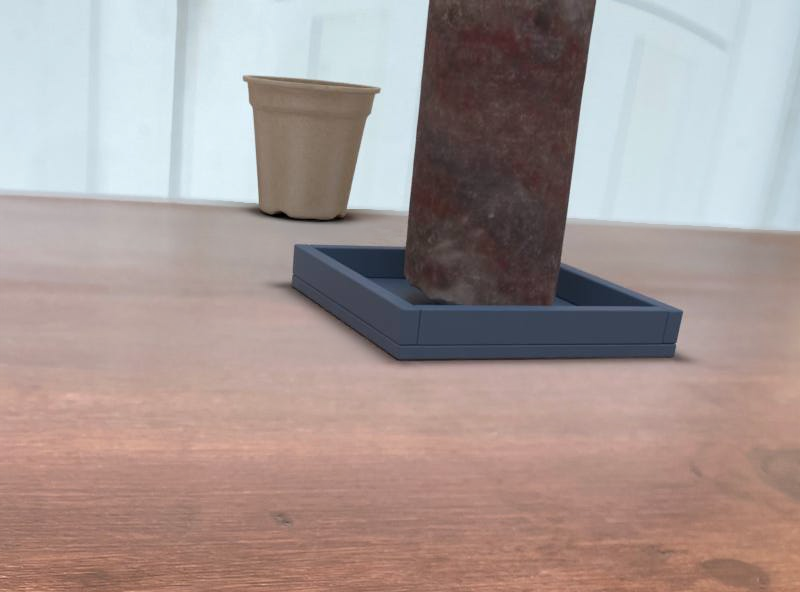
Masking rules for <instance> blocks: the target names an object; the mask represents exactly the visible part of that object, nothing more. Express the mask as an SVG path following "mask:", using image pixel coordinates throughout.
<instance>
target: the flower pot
mask: <svg viewBox="0 0 800 592" xmlns="http://www.w3.org/2000/svg"><path fill="white" fill-rule="evenodd" d="M242 82H245V83H246V84H247V89H248V90H247V92H248V103H249V105H250V106H251V108H252V118H253V119H252V120H253V133H254V146H255V147H254V148H255V164H256V177H257V193H258V208H259V210H261V211H262V212H264V213H265V214H268V215H278V214H283V213H284V214H285V215H286V216H288V217H289V218H293V219H299V220H307V219H309V220H310V219H313V220H318V221H328V220H333V219H334V218H344V217H345V216H346V215H347V210H348V204H349V200H350V195H351V191H352V187H353V181H354V178H355V177H354V176H355V173H356V168H357V163H358V160H359V159H358V158H359V155H360V154H359V153H360V149H361V144H362V140H363V137H364V131H365V127H366V122H367V120H368V117H369V116H370V115H371V114H372V110H373V106H374V101H375V98H376V95H378V94H380V93H381V89H382V88H381V87H379V86H374V85H367V84H360V83H359V84H358V83H357V84H356V83H349V82H344V81H343V82H340V81H332V80H324V79H323V80H322V79H313V78H304V77H303V78H302V77H288V76H274V75H273V76H272V75H256V74H255V75H253V74H246V75H242Z"/></svg>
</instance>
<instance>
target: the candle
mask: <svg viewBox="0 0 800 592" xmlns="http://www.w3.org/2000/svg"><path fill="white" fill-rule="evenodd" d="M596 5H597V0H428V9H427V18H426V27H425V28H426V30H425V38H424V47H423V49H424V50H423V61H422V69H421V70H422V71H421V80H420V94H419V103H418V104H419V105H418V112H417V113H418V115H417V122H416V130H415V144H414V145H415V146H414V153H413V163H412V173H411V185H410V192H409V193H410V194H409V195H410V196H409V205H408V215H407V216H408V218H407V227H406V240H405V241H406V242H405V247H406V249H405V265H404V277H405V278H406V280H407V282H408V283H409V285H410V286H412V287H416V288H417V289H419V290H420V291H422V292H423V293H425V295H426V296H427V297H428V298H430V299H432V300H435V301H437V302H439V303H442V304H445V305H483V306H551V305H552V303H553V302H554V300H555V296H556V290H557V283H558V276H559V270H560V263H561V261H562V255H563V246H564V239H565V232H566V225H567V218H568V211H569V202H570V196H571V195H570V194H571V187H572V179H573V171H574V166H575V165H574V163H575V155H576V149H577V148H576V147H577V139H578V132H579V124H580V116H581V109H582V102H583V101H582V100H583V93H584V87H585V82H586V81H585V80H586V75H587V67H588V61H589V52H590V45H591V37H592V31H593V25H594V20H595V19H594V18H595V13H596V7H597V6H596Z"/></svg>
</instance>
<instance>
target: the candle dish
mask: <svg viewBox="0 0 800 592" xmlns="http://www.w3.org/2000/svg"><path fill="white" fill-rule="evenodd" d="M405 249H406V246H396V245H395V246H394V245H393V246H390V245H354V244H352V245H350V244H349V245H348V244H347V245H346V244H312V243H311V244H306V243H295V244H294V246H293V256H292V257H293V261H292V274H291V275H292V276H291V286H292V287H293V288H295V290H297V291H299V292H300V293H301V294H304V296H306V297H307V298H309V299H310V300H312V301H313V302H315V303H316V304H317V305H318V306H321V307H322V308H323V309H325V310H326V311H327V312H329V313H330V314H331V315H333V316H335V317H336V318H338V319H339V320H340V321H342V322H344V323H345V324H346V325H348V326H349V327H351V328H352V329H353V330H355V331H357V332H358V333H359V334H360V335H362V336H363V337H365V338H367V339H368V340H369V341H371V342H372V343H374V344H375V345H376V346H378V347H379V348H381V349H382V350H384V351H385V352H387V353H388V354H390V355H391V356H393V357H394V358H395V359H397V360H401V361H402V360H404V361H405V360H410V361H411V360H502V359H503V360H504V359H505V360H507V359H508V360H509V359H512V360H513V359H514V360H515V359H601V358H602V359H604V358H605V359H606V358H607V359H608V358H609V359H610V358H611V359H613V358H616V359H617V358H673V357H675V352H676V348H677V343H678V337H679V334H680V330H681V329H680V328H681V324H682V321H683V320H682V319H683V314H684V311H683V310H682V309H680V308H677V307H674V306H673V305H670V304H668V303H665V302H663V301H660V300H657V299H655V298H652V297H650V296H647V295H645V294H642V293H640V292H638V291H635V290H633V289H630V288H627V287H624V286H622V285H619V284H618V283H617V284H616V283H614V282H612V281H609V280H607V279H604V278H602V277H599V276H597V275H594V274H591V273H589V272H587V271H584V270H582V269H580V268H576V267H574V266H571V265H569V264H567V263H565V262H561V263H560V270H559V276H558V283H557V290H556V296H555V300H554V302H553V303H552V305H551V306H483V305H445V304H442V303H439V302H437V301H435V300H432V299H430V298H428V297H427V296H426V295H425V293H423V292H422V291H420V290H419V289H417V288H416V287H412V286H410V285H409V283H408V282H407V280H406V278H405V277H404V265H405Z"/></svg>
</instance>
